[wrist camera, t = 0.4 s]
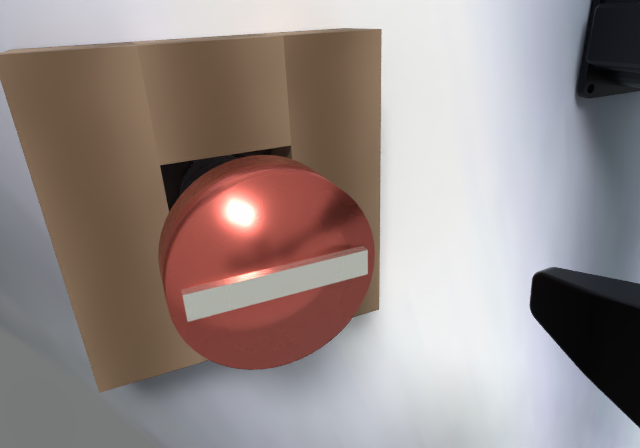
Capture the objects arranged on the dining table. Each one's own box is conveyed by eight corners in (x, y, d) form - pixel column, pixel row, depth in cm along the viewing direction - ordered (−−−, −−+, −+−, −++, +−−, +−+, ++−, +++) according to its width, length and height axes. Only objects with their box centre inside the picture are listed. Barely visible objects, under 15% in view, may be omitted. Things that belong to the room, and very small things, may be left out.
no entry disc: (281, 110, 19) (380, 160, 12) (291, 239, 22) (379, 341, 15) (129, 129, 17) (144, 201, 10) (159, 269, 20) (188, 403, 13)
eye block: (344, 28, 19) (381, 29, 17) (350, 279, 24) (379, 309, 22) (11, 49, 15) (-8, 55, 13) (100, 346, 20) (99, 392, 18)
